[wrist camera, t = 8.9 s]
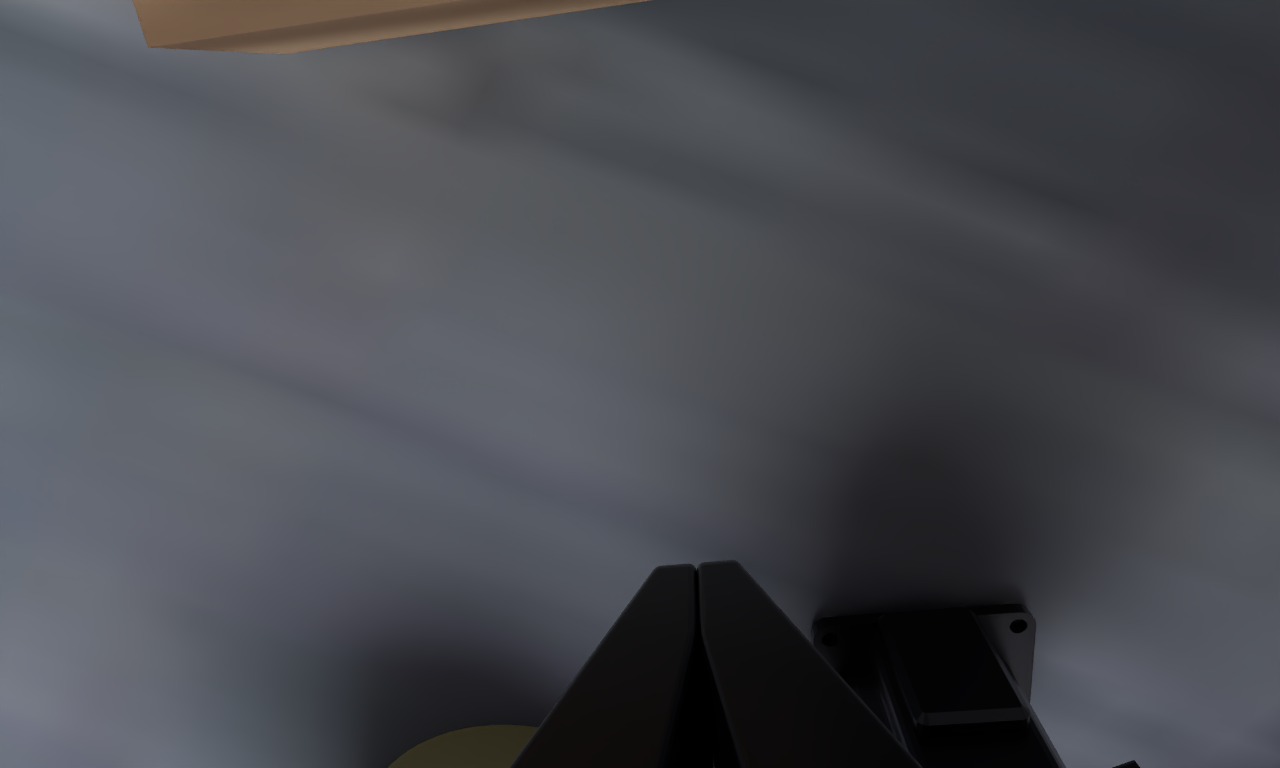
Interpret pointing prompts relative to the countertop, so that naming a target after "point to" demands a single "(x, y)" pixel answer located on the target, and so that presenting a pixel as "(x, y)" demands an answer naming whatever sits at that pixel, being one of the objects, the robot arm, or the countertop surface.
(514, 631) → the countertop surface
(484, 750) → the piston
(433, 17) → the brown rectangular block
